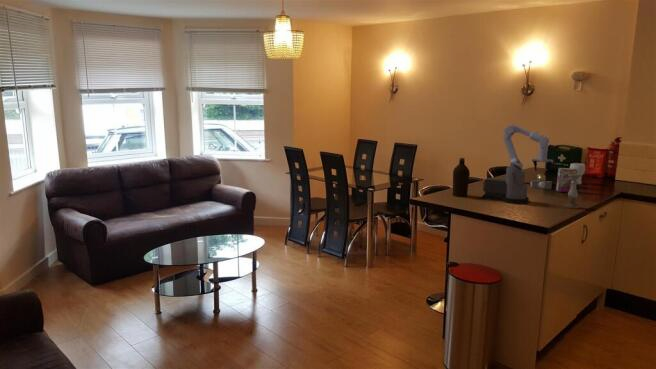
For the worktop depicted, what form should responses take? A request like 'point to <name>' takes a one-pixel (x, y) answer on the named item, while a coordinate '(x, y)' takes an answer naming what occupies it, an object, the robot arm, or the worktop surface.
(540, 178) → the spacer
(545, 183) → the scale
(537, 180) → the spacer
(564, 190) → the candy bar box
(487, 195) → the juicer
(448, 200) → the worktop surface
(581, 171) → the cup
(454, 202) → the worktop surface
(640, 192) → the worktop surface
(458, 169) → the olive oil
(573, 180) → the candle holder
